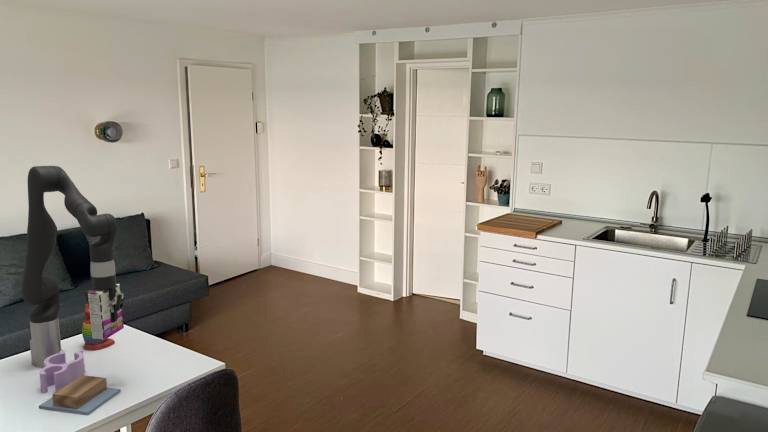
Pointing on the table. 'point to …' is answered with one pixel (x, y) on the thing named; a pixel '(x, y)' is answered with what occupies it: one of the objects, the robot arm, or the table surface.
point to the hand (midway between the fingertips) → (106, 320)
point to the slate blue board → (87, 407)
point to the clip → (61, 370)
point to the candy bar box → (103, 314)
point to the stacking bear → (87, 335)
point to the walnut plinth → (79, 391)
